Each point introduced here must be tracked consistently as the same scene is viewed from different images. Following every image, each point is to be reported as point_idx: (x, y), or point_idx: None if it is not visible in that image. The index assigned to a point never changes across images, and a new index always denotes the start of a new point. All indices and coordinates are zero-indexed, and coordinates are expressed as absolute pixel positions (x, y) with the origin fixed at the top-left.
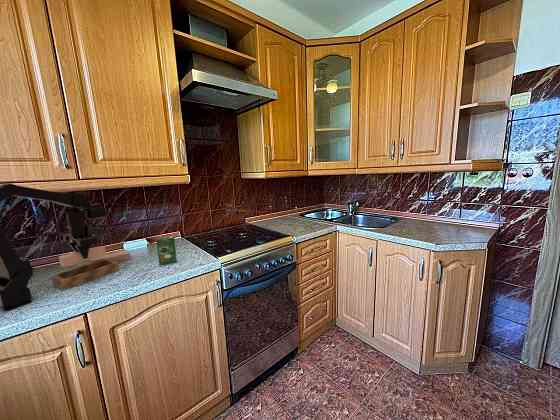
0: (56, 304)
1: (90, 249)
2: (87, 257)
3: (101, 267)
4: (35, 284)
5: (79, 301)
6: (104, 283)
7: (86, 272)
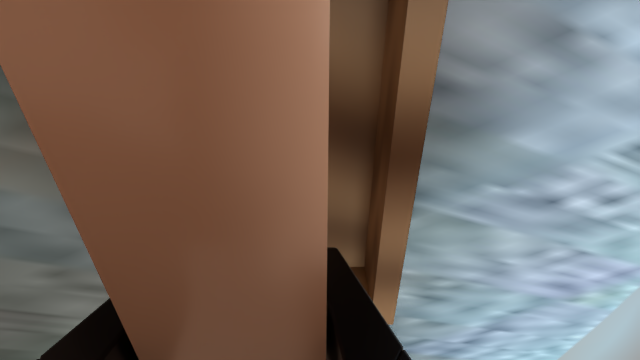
0: (526, 315)
1: (225, 267)
2: (337, 250)
3: (419, 61)
4: None
5: (630, 266)
6: (576, 105)
7: (403, 198)
